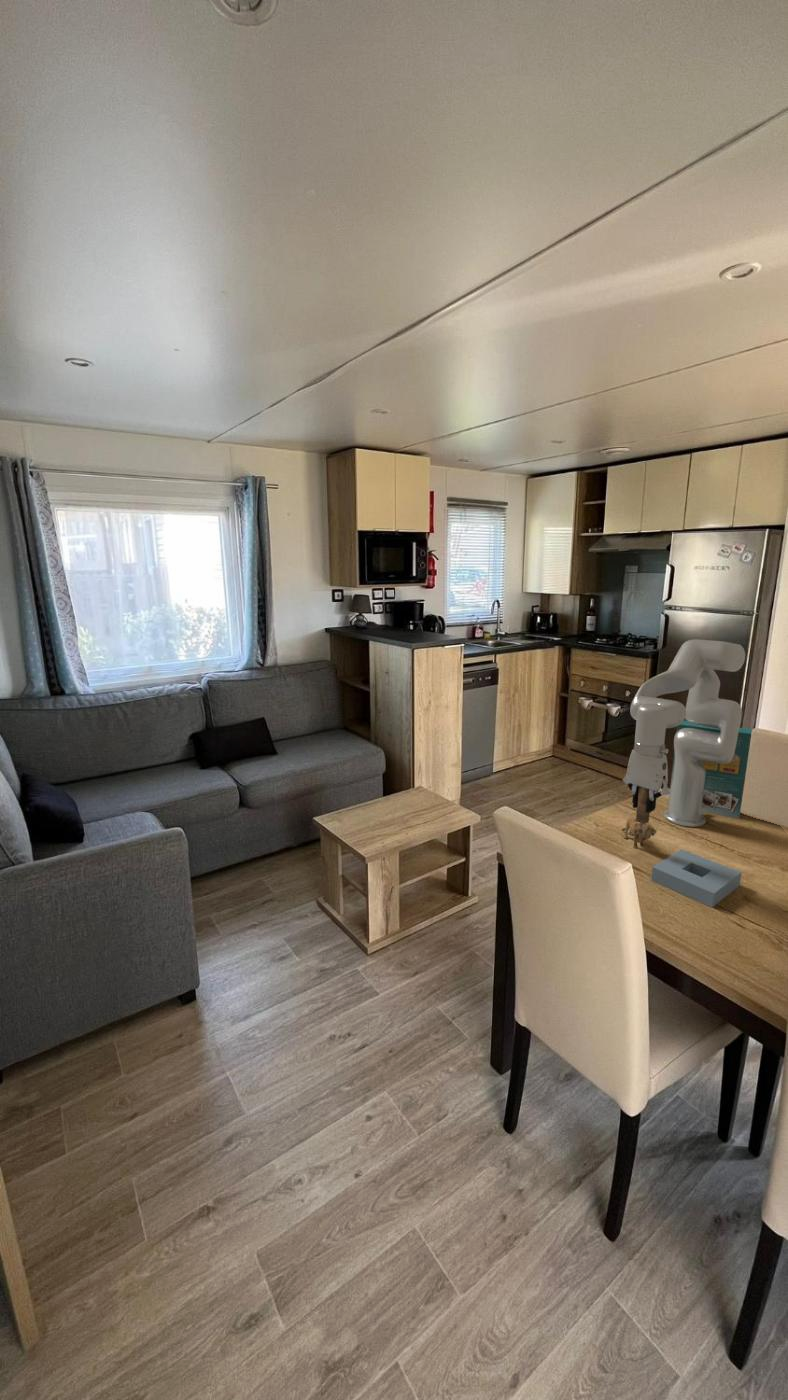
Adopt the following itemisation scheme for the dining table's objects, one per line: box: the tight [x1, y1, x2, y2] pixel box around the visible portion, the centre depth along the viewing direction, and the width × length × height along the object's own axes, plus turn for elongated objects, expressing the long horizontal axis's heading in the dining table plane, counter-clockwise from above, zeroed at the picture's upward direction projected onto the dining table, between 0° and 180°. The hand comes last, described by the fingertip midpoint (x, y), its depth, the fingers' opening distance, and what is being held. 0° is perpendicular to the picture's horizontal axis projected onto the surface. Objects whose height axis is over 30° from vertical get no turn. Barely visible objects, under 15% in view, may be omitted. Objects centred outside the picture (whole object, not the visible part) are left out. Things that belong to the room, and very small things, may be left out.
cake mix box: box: [668, 720, 753, 819], centre depth 195 cm, size 22×6×30 cm, turn 57°
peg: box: [635, 786, 650, 823], centre depth 160 cm, size 3×3×12 cm
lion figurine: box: [621, 817, 658, 849], centre depth 174 cm, size 15×5×9 cm, turn 10°
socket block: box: [650, 849, 742, 908], centre depth 152 cm, size 16×16×4 cm
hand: (643, 808), depth 161 cm, fingers closed on peg, 3 cm apart
